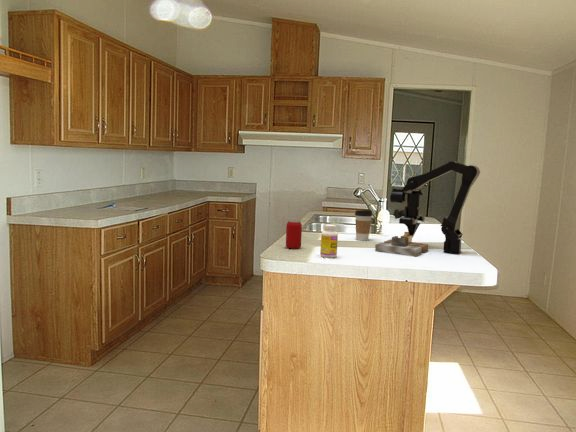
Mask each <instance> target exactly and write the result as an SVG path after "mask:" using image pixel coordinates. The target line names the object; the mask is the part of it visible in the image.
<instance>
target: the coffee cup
mask: <svg viewBox="0 0 576 432" xmlns="http://www.w3.org/2000/svg"><path fill="white" fill-rule="evenodd" d="M372 212H373V211H372V210H371V209H359V210H358V209H357V210H355V213H354V216H355V238H356V239H355V240H356V241H360V242H368V241H369V237H370V231H371V230H370V229H371V223H372V217H373V213H372Z"/></svg>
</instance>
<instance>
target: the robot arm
mask: <svg viewBox="0 0 576 432" xmlns="http://www.w3.org/2000/svg"><path fill="white" fill-rule="evenodd" d="M452 171H454V172H456V173H458V174H461V184H460V187H459V190H458V193H457V195H456V198H455V200H454V203H453V205H452V208H451V210H450V213H449V214H448V215H447V216H444V217H443V219H442V223H441V224H440V228H441V229H440V230H441V232H442V234H443V235H444V236H445V240H444V241H443V248H442V249H443V253H447V254H454V255H460V254H461V253H462V237H463V232H461V230H460V229H459V225H460V216H461V214H462V212H463V209H464V206H465V203H466V200H467V198H468V196H469V193H470V190H471V188H472V186H473V185H474V184H475V182H476V181H477V179H478V177H479V176H480V173H481V170H480V168H479V167H478V166H476V165H472V164H471V165H470V164H469V165H466V164H463V163H459V162H457V161H455V160H450V161H448V162H446V163H445V164H443V165H440V166H438V167H436V168H434V169H432V170H430V171H427V172H426V173H423V174H417V175H415V176H411V177H408V178H407V181H406V184H405V185H404V186H403V188H402V189H401V188H396V187H394V188H392V190H391V192H390V197H389V200H390V203H393V204H405V202H406V206H404V209H401V210H400V209H399V208H398V209H394V210H393V214H392V215H393V217H394V218H395V220H397V219H398V223H399V224H403V225H405V226H406V228H407V232H409V235H412V239H413V238H414V236H415V234H416V232H417V230H418V229H419V227H420V225H421V222H425V219H426V217H425V216H424V215H423V214H420V210H421V208H422V206H420V205H421V204H420V203H421V196H425V195H426V193H425V192H424V191H423V190H422V189H421V188H423V186H424V187H425V185H426V184H428V183H429V182H430V181H433V180H435V179H437V178H439V177H441V176H444V175H446V174H448V173H451V172H452ZM418 221H419V222H418Z"/></svg>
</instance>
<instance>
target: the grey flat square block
mask: <svg viewBox="0 0 576 432" xmlns="http://www.w3.org/2000/svg"><path fill="white" fill-rule="evenodd" d="M408 238H409V237H406V238H401V237H399V236H398V235H395V236H392V237H391V239H388V240H385V241H381V242H379V243H376V244H375V249H374V251H375V252H377V253H384V254H385V253H386V254H394V255H400V256H409V257H418V256H420V255H422V254H425V253H426V252H428V251H429V243H421V242H413V241H412V242H410V243H408Z"/></svg>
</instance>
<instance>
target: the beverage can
mask: <svg viewBox="0 0 576 432" xmlns="http://www.w3.org/2000/svg"><path fill="white" fill-rule="evenodd" d="M302 225H303V224H302V222H301V220H297V219H289V220H288V221H287V222H286V229H285V232H286V233H285V246H286V247H287V248H288V249H289V248H291V249H290V250H298V249H299V248H301V247H302V235H303V233H302V232H303V230H302V227H303V226H302Z"/></svg>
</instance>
